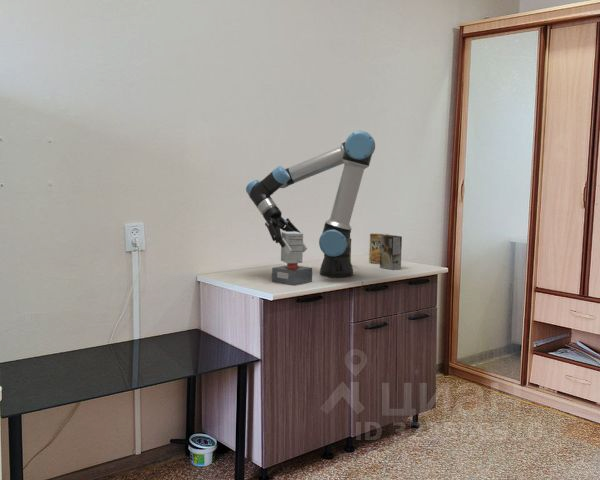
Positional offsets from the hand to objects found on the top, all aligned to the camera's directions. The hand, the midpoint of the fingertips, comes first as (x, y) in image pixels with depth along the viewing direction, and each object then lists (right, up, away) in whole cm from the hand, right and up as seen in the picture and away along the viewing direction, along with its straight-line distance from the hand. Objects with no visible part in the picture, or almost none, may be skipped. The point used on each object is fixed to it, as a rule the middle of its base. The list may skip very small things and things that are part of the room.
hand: (297, 251), depth 255 cm
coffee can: (+21, -9, +46) cm, 51 cm away
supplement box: (-3, -5, +2) cm, 6 cm away
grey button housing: (-2, -13, +3) cm, 14 cm away
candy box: (+41, -7, +60) cm, 74 cm away
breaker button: (-2, -10, +3) cm, 10 cm away
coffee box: (+45, -9, +44) cm, 64 cm away
